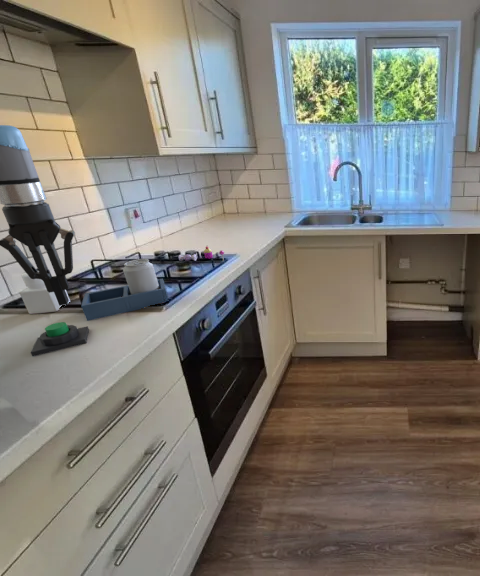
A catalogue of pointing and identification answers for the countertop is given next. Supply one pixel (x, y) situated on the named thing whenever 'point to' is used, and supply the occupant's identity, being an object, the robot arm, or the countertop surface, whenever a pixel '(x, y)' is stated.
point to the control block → (60, 340)
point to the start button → (56, 329)
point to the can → (140, 276)
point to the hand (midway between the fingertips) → (64, 302)
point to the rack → (120, 301)
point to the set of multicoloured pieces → (188, 257)
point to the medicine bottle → (38, 296)
